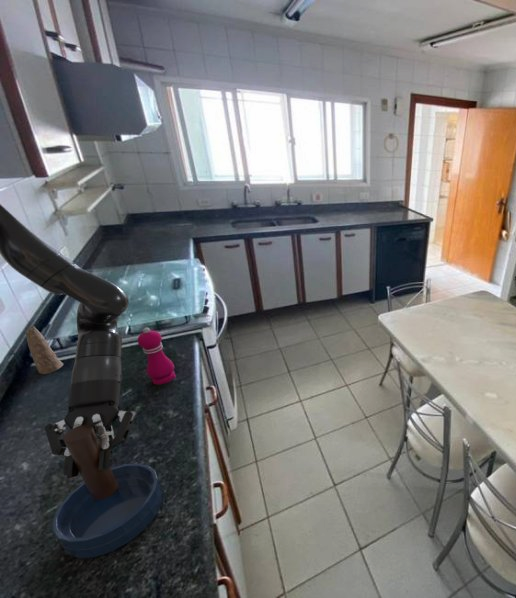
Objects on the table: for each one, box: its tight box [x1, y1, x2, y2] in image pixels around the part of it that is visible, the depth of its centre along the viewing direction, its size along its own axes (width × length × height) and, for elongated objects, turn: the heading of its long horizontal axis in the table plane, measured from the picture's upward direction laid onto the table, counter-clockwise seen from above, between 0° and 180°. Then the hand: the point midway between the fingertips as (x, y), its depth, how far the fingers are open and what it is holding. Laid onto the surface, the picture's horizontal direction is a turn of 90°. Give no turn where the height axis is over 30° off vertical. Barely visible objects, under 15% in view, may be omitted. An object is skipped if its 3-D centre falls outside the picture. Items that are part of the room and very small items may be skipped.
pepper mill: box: [137, 327, 177, 386], centre depth 104 cm, size 7×7×20 cm
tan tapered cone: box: [25, 325, 64, 375], centre depth 104 cm, size 6×18×6 cm
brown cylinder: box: [63, 425, 118, 500], centre depth 63 cm, size 4×4×16 cm
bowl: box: [52, 462, 164, 559], centre depth 68 cm, size 16×16×6 cm
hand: (88, 473), depth 61 cm, fingers closed on brown cylinder, 4 cm apart
